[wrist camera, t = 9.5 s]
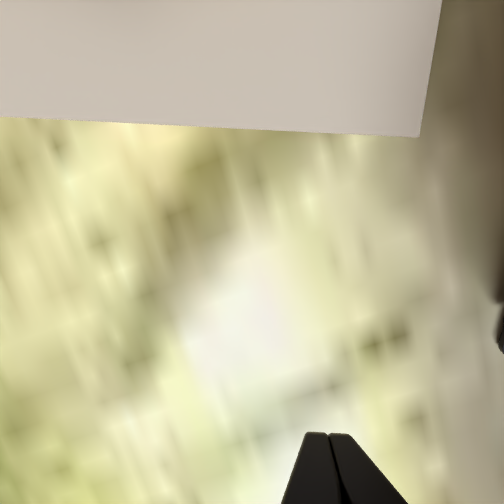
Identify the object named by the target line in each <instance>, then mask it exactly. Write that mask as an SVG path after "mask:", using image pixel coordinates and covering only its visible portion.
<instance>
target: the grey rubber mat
mask: <svg viewBox="0 0 504 504" xmlns="http://www.w3.org/2000/svg"><path fill="white" fill-rule="evenodd" d="M441 4H442V0H0V117H20V118H40V119H60V120H80V121H100V122H120V123H139V124H159V125H179V126H199V127H219V128H239V129H259V130H279V131H298V132H318V133H338V134H358V135H378V136H398V137H418V138H419V135H420V129H421V123H422V117H423V111H424V105H425V99H426V93H427V87H428V81H429V75H430V70H431V64H432V58H433V52H434V46H435V40H436V34H437V28H438V22H439V16H440V10H441Z"/></svg>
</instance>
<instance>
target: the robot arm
mask: <svg viewBox="0 0 504 504" xmlns="http://www.w3.org/2000/svg"><path fill="white" fill-rule="evenodd" d="M503 322H504V318H503ZM499 349H500V351H501V352H502V353H503V354H504V326H503V329H502V333H501V337H500V340H499ZM281 504H408V503H407V502H406V501H405V499H404V498H403V497H402V496H401V495H400V494H399V492H398V491H397V490H396V489H395V488H394V486H393V485H392V484H391V483H390V482H389V480H388V479H387V478H386V477H385V476H384V474H383V473H382V472H381V471H380V470H379V469H378V467H377V466H376V465H375V464H374V463H373V461H372V460H371V459H370V458H369V457H368V455H367V454H366V453H365V452H364V451H363V450H362V448H361V447H360V446H359V445H358V444H357V442H356V441H355V440H354V439H353V438H352V437H351V436H350V435H349V434H341V433H330V434H329V435H327V434H326V433H323V432H307V433H306V434H305V436H304V439H303V442H302V445H301V448H300V450H299V453H298V456H297V459H296V462H295V465H294V468H293V470H292V473H291V476H290V479H289V482H288V485H287V488H286V491H285V493H284V496H283V499H282V502H281Z"/></svg>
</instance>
